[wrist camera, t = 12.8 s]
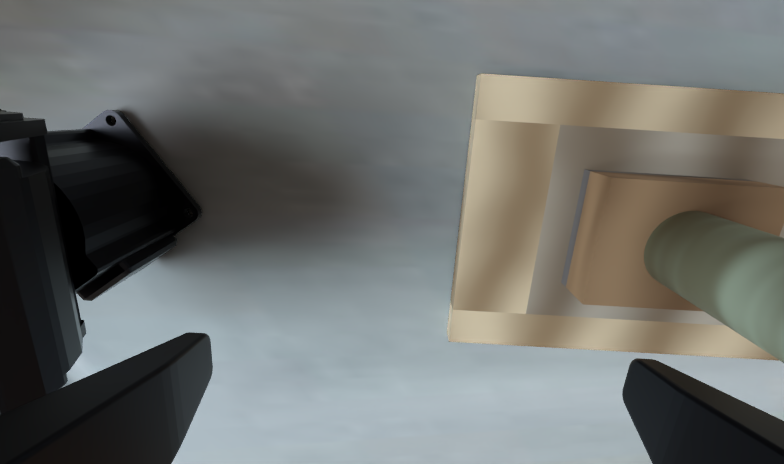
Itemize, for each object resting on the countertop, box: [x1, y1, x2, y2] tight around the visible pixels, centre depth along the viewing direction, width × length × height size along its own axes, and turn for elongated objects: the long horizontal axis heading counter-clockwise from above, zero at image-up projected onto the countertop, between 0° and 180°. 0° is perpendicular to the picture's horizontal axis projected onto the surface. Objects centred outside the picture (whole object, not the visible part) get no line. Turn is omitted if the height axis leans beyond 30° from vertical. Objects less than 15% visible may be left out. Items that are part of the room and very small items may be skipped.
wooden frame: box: [447, 74, 784, 360], centre depth 20 cm, size 22×14×1 cm, turn 86°
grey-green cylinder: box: [561, 169, 784, 363], centre depth 15 cm, size 8×6×11 cm
